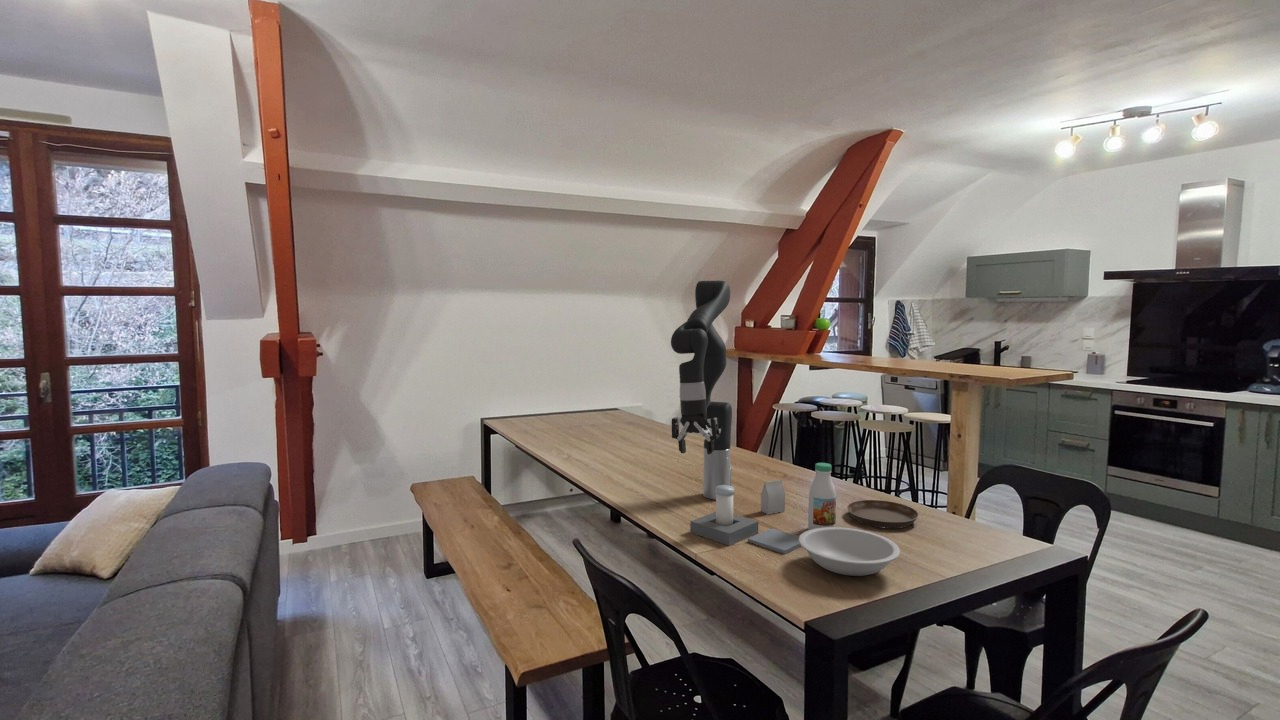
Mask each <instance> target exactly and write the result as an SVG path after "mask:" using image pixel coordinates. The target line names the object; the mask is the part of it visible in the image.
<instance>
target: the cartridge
mask: <svg viewBox="0 0 1280 720" xmlns="http://www.w3.org/2000/svg"><path fill="white" fill-rule="evenodd" d="M715 493H716V500H715V512H716V524H719V525H722V526H726V527H727V526H730V525H732V524H733V514H734V495H735V487H734V486H732V485H731V486H729V485H719V486H716V489H715Z"/></svg>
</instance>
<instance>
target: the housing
mask: <svg viewBox="0 0 1280 720" xmlns="http://www.w3.org/2000/svg"><path fill="white" fill-rule="evenodd" d="M689 526H690V527H689V529H690V530H689V531H690V532H691V533H690V532H689V533H690V534H692V533H694V534H693V535H695V534H696V536H698V535H700V536H699V537H701V536H703V537H702V538H704V537H705V538H704V539H707V538H708V539H707V540H710V539H711V540H710V541H713V540H714V542H716V543H719V542H720V543H719V544H722V545H725V546H729V547H730V546H733V545H735V544H736V543H739V542H741V541H743V539H744V540H745V539H748V538H751V537H753V536H755V535H757V534H759V521H758V520H755V519H752V518H748V517H745V516H741V515H737V514H734V513H733V524H732V525H730V526H727V527H726V526H722V525H719V524H716V511H714V512H712V513H709V514H707V515H703V516H701V517H698V518H695V519H693V520H690V525H689ZM750 536H751V537H750Z"/></svg>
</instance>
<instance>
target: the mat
mask: <svg viewBox="0 0 1280 720" xmlns="http://www.w3.org/2000/svg"><path fill="white" fill-rule="evenodd" d="M799 537H800V535H796V534H793V533H789V532H787V531H786V532H785V531H783V530H780V529H776V528H769V529H767V530H764V531H762V532H760V533H757V534H755V535H753V536H751V537H748V538H747V543H749V542H750V543H749V544H752V543H753V544H752V545H755V544H756V546H758V545H759V547H762V548H764V549H768V550H771V551H773V552H777V553H780V554H783V555H787V554H788V553H790V552H792V551H794V550H796V549H798V548H800V547H801V545H800V544H799Z"/></svg>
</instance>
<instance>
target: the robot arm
mask: <svg viewBox="0 0 1280 720" xmlns="http://www.w3.org/2000/svg"><path fill="white" fill-rule="evenodd" d="M730 287H731V286H730V285H729V283H728V282H727V281H724V280H699V281H698V282H697V283H696V286H695V293H694V295H695V297H694V298H695V299H694V300H695V307H696V308H695V309H694V310H693V311H692V312H691V313H690V315H689V317H688V318H687V320H686V321H685V322H684V323H682V324H681V325H679V327H677V328H676V329H675V330H674V331H673V333H672V334H671V338H670V346H671V348H672V350H673V351H674V352H675V353H677V354H680V355H685V354H694V355H693V357H692V359H691V360H689V361H688V360H687V361H685V362H681V363H680V364H679V367H678V373H679V403H680V404H679V405H680V415H681V417H678V416H677V417H673V418H672V419H671V438H672V439H676V440H677V442H678V450H679V452H680V454H686V452H687V447H686V436H687V435H688V434H692V433H695V434H701V435H702V436H703V437H704V438H705V439H704V441H703V484H702V485H703V489H702V493H703V494H702V495H703V497H704V498H707V499H710V500H715V501H716V493H715V489H716V486H719V485H729V486H732V477H733V475H732V471H733V470H732V468H731V444H732V443H731V441H732V440H731V439H732V422H733V408H732V405H731V403H729V402H725V401H711V397H712V392H713V390H714V387H715V385H716V384H717V382H718V380H719V379H720V378H721V376H722V375H723V373H724V372H725V370H726V368H727V349H726V344H725V342H724V340H723V338H722V337H721V336H720V334H719V333H718V331H717V329H716V328H715V327H714V325H713V322H714V321H715V320H716V318H718V317H719V316H720V315H721V313H723V312H724V311H725V310H726V308H727V307H728V305H729V303H730V299H731V288H730ZM680 425H682V429H681V431H680ZM710 429H711V430H710Z"/></svg>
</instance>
